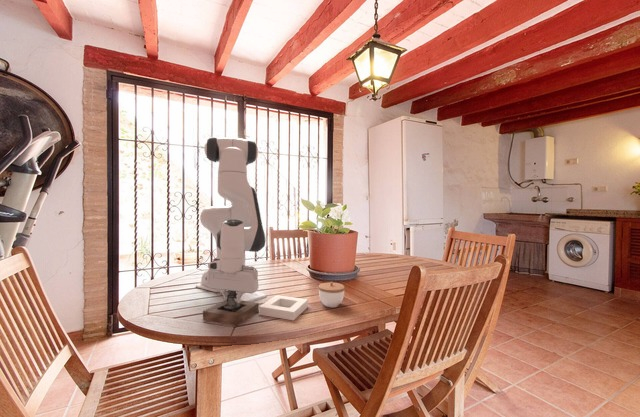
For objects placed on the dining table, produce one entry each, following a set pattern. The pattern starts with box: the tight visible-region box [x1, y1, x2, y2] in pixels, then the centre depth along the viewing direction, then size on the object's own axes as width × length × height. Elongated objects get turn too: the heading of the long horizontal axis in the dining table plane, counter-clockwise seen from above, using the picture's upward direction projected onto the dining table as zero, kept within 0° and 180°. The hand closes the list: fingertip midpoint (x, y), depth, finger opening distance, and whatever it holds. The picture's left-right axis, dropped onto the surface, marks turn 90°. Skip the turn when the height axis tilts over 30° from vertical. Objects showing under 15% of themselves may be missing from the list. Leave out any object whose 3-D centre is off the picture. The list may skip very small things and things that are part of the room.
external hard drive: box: [236, 290, 267, 302], centre depth 125 cm, size 2×8×12 cm
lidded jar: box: [318, 281, 346, 308], centre depth 119 cm, size 11×11×9 cm
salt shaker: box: [224, 290, 240, 312], centre depth 106 cm, size 6×6×12 cm
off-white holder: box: [258, 294, 309, 321], centre depth 112 cm, size 14×14×3 cm
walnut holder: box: [202, 300, 260, 327], centre depth 106 cm, size 14×14×3 cm
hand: (232, 301), depth 106 cm, fingers closed on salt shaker, 3 cm apart
